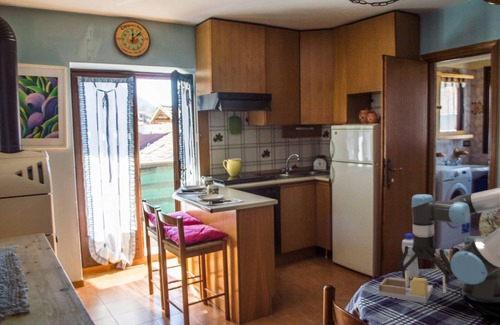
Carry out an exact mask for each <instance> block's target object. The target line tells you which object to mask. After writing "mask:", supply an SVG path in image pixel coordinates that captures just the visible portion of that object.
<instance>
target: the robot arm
mask: <svg viewBox="0 0 500 325" xmlns="http://www.w3.org/2000/svg"><path fill="white" fill-rule="evenodd" d="M410 207H411V218H412V234H413V247H412V246H409V245H406V246H405V252H404V254H403V253H402V256H401V258H400V260H399V262H398V263H397V266H396V268H397V269H400V270H401V273H402V279H405V286H406V287H408V286H409V281H410V277H409V269H406V268H407V267H408V266H409V265H410V264H411V263H412V262H413V261H414V260H415V259H416V258H418V259H420V260H423V259H424V260H427V261H428V260H431V261H432V262H433V263H434V264H435V266H437V268H438V269H439V270H440V271H441V272H442V292H443V294H446V293H447V291H448V290H447V288H448V287H447V285H449V283H450V275H451V276H452V275H454V276H455V277H456V279H458V280H459V281H461V283H463V284H462V287H461V295H462V296H463V298H465V297H464V295H468V296H470V297H473V298H476V299H478V300H484V301H491V302H500V226H499V227H498V228H497V229H495V230H493V231H492V232H491V233H490V234H488V235H486V236H481V235H480V236H479V235H477V236H476V235H469V236H465V237H464V241H463V243H464V247H462V248H461V249H460V250H458V251H456V252H455V253H454V254H453V255H452V257H451V259H450V260H449V258H448V257H447V255H446V254H445V249H444V248H443V247H441V248H436V247H435V236H434V234H435V226H434V225H435V224H434V223H435V222H442V223H443V222H444V223H453V224H466V223H468V222H469V220H470V215H474V214H480V213H485V212H489V211H497V210H500V187H497V188H492V189H488V190H482V191H478V192H474V193H469V194H461V195H458V196H456V197H453V199H450V200H448V201H441V200H434V198H433V196H432V194H425V193H424V194H422V193H421V194H415V195H413V196H412V197H411V206H410ZM411 250H413V252H414V253H415V255H414V256H413V257H412V258H411V259H410V260H409V261H408V262H407V263H406V264H405V265H404V260H405V258H406V256H407V254H408V252H410V251H411ZM436 253H437V254H438V255H439V256H440V259H441V260H442V262H443V263H442V262H441V261H440V260H439V259H438V257H437V256H436ZM444 265H445V266H444Z"/></svg>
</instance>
